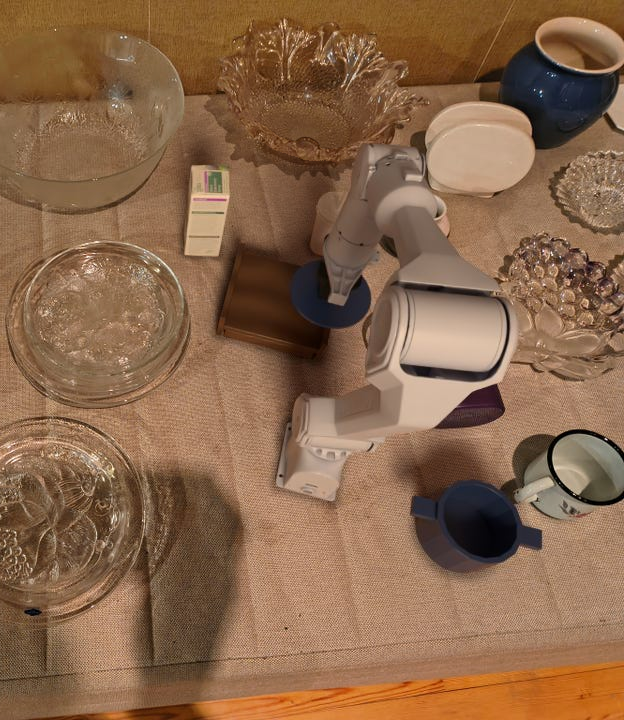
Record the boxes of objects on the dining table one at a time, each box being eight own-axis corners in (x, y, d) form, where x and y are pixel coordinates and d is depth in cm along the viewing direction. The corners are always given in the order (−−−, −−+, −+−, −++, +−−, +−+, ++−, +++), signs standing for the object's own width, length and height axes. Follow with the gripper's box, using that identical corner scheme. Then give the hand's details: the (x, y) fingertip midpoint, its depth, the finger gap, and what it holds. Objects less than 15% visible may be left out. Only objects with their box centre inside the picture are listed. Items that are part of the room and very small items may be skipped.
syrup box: (219, 257, 106) (233, 195, 93) (182, 256, 106) (190, 194, 93) (218, 228, 108) (231, 165, 95) (182, 227, 108) (190, 163, 95)
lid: (361, 341, 89) (373, 323, 85) (280, 317, 91) (288, 299, 86) (374, 275, 94) (386, 256, 90) (297, 254, 96) (305, 234, 91)
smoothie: (298, 256, 106) (322, 197, 94) (305, 226, 109) (329, 165, 97) (337, 267, 106) (367, 209, 93) (344, 236, 108) (373, 176, 96)
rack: (318, 361, 98) (328, 345, 93) (215, 334, 99) (220, 317, 95) (332, 285, 104) (341, 266, 100) (235, 261, 106) (240, 242, 101)
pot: (514, 589, 84) (545, 580, 78) (391, 554, 85) (412, 542, 79) (516, 512, 88) (545, 498, 82) (399, 480, 90) (419, 464, 84)
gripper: (386, 283, 75) (349, 341, 87) (399, 189, 82) (363, 255, 94) (324, 268, 76) (296, 327, 88) (343, 176, 83) (314, 243, 95)
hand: (327, 289), depth 91 cm, fingers closed on lid, 2 cm apart
